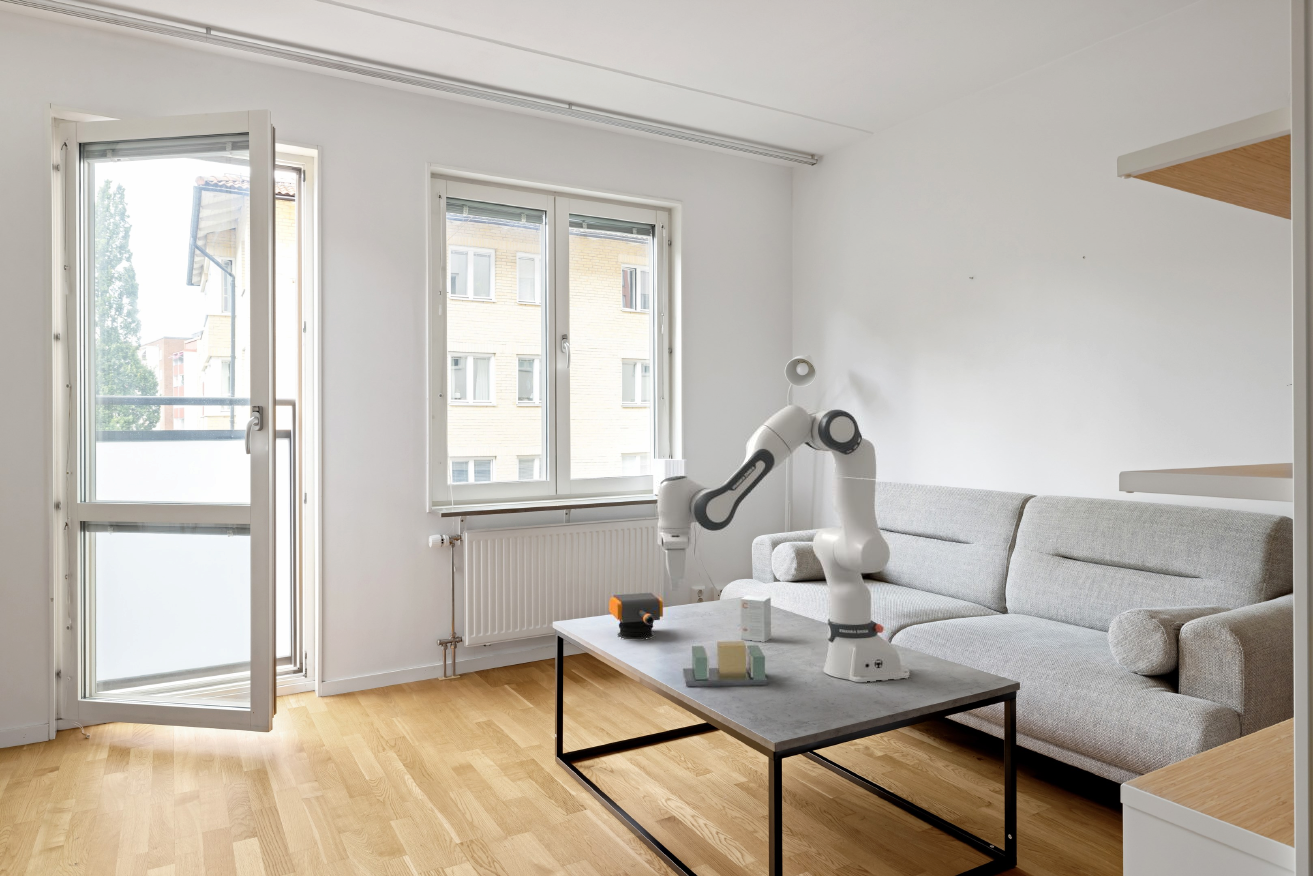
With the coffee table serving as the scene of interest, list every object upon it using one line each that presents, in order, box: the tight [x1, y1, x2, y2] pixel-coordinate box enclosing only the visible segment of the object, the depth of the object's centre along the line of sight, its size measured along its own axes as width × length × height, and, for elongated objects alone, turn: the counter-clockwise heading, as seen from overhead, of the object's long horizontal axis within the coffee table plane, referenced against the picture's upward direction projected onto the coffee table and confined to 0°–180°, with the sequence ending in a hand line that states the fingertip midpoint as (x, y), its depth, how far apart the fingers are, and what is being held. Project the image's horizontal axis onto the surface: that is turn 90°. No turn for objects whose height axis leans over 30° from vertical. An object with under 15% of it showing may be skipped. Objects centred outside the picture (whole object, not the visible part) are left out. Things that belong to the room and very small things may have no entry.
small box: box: [740, 594, 772, 643], centre depth 262 cm, size 8×6×13 cm
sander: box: [608, 592, 664, 640], centre depth 263 cm, size 15×25×13 cm, turn 16°
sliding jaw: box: [691, 645, 710, 680], centre depth 220 cm, size 4×11×6 cm, turn 2°
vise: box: [682, 644, 768, 687], centre depth 220 cm, size 21×11×8 cm, turn 92°
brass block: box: [716, 640, 747, 677], centre depth 220 cm, size 4×7×8 cm, turn 92°
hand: (674, 589), depth 220 cm, fingers closed
